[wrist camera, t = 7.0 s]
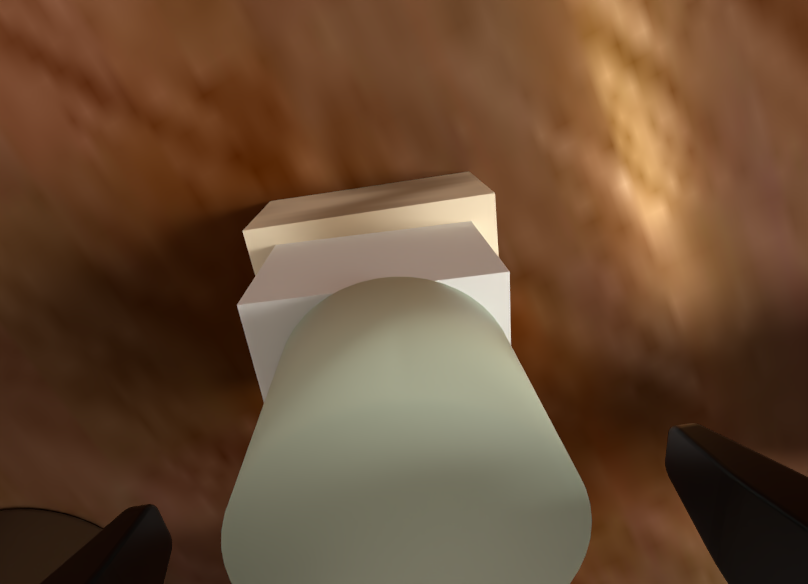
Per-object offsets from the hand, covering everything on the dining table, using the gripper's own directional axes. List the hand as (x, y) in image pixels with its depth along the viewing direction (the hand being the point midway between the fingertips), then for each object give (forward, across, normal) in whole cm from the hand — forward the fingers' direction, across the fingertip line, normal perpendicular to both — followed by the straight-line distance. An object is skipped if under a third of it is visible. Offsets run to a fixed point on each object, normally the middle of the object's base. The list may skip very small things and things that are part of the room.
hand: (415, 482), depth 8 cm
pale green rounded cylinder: (+2, 0, 0) cm, 3 cm away
